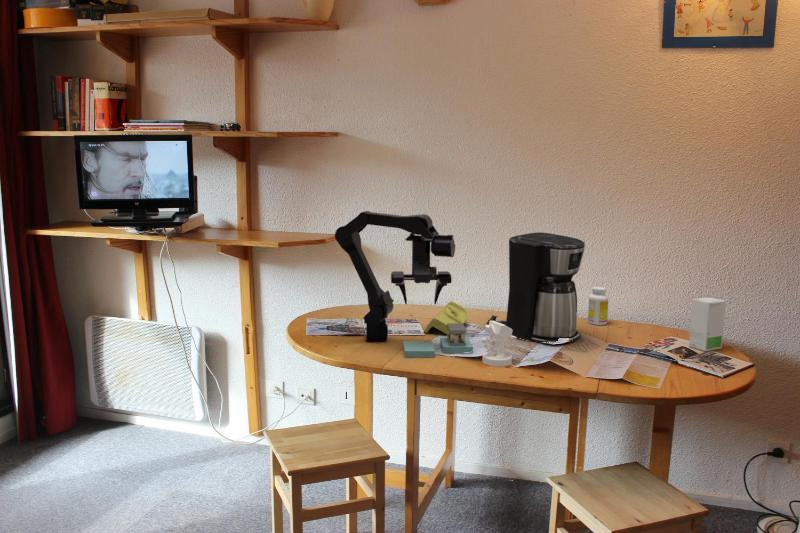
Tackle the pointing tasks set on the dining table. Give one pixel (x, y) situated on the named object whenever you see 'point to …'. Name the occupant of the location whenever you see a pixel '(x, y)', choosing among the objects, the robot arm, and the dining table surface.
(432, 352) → the stand left
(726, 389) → the dining table surface
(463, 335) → the housing
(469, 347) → the stand right
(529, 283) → the coffee maker
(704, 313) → the skincare box
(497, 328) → the character figurine
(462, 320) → the plastic component
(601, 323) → the supplement bottle
